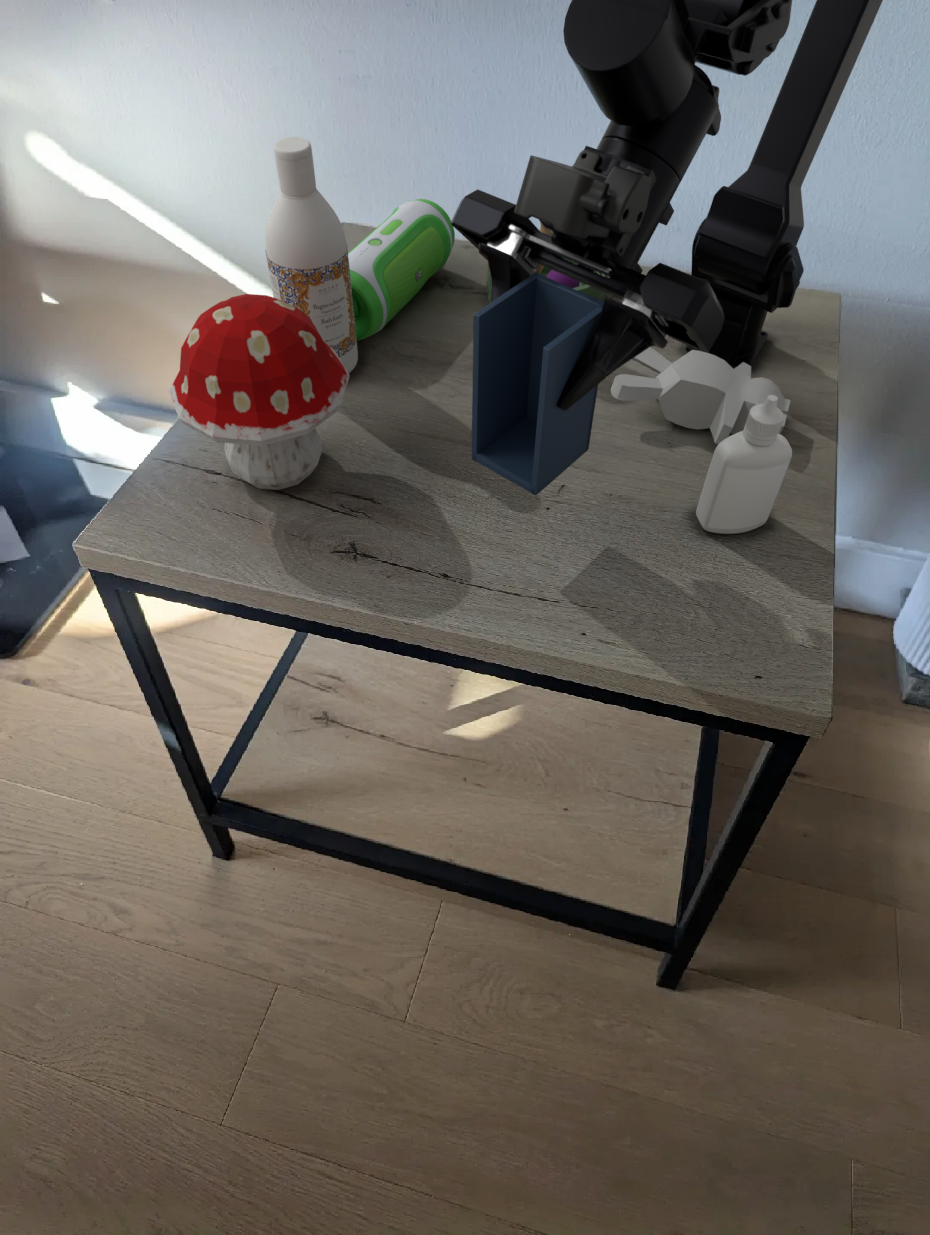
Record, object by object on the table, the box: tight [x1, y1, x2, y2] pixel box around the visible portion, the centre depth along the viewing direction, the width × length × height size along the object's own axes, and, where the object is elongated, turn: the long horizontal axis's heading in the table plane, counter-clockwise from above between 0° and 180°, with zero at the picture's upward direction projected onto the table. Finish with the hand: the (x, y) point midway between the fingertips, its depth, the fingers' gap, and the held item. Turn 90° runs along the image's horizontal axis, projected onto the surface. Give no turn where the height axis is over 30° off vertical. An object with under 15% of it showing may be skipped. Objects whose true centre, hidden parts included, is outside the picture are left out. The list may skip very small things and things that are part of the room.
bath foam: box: [264, 136, 359, 374], centre depth 75 cm, size 7×7×20 cm
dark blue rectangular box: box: [471, 273, 604, 496], centre depth 60 cm, size 6×6×12 cm
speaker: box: [348, 198, 456, 341], centre depth 87 cm, size 18×7×8 cm, turn 154°
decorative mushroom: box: [168, 293, 350, 491], centre depth 68 cm, size 14×14×15 cm
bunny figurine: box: [610, 346, 791, 445], centre depth 77 cm, size 10×5×15 cm
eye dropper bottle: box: [695, 395, 793, 535], centre depth 66 cm, size 4×6×12 cm
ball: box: [546, 270, 580, 288], centre depth 88 cm, size 4×4×4 cm
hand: (522, 389), depth 58 cm, fingers closed on dark blue rectangular box, 6 cm apart
